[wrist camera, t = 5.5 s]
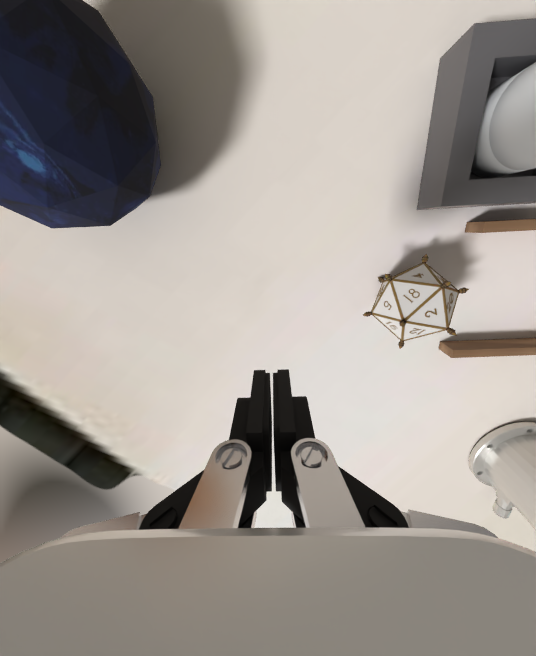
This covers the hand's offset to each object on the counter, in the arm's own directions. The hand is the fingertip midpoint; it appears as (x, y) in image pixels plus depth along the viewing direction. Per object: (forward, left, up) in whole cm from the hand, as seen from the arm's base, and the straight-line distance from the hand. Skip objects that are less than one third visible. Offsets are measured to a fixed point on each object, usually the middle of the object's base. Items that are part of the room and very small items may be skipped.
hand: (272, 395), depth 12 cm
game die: (0, -15, -20) cm, 24 cm away
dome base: (+15, -22, -19) cm, 32 cm away
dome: (+15, -22, -18) cm, 32 cm away
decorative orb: (+16, +15, -20) cm, 29 cm away
